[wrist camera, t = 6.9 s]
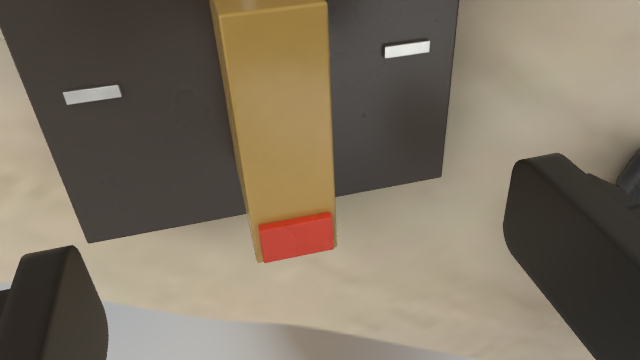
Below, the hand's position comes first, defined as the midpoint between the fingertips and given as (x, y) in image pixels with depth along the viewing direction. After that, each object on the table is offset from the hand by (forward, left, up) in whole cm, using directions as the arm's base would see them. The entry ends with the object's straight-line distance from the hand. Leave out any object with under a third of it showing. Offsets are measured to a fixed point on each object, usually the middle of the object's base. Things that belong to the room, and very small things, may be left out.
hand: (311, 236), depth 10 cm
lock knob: (0, -1, -7) cm, 7 cm away
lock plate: (0, -1, -10) cm, 10 cm away
